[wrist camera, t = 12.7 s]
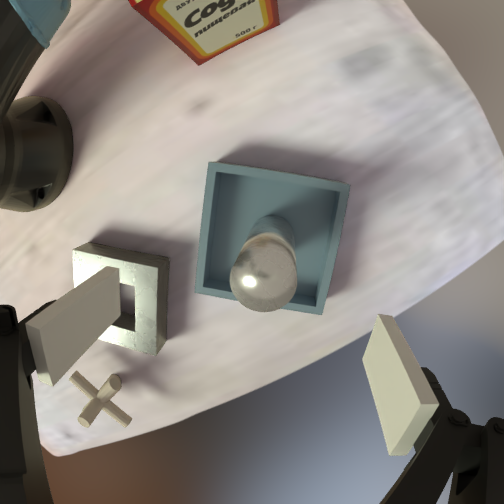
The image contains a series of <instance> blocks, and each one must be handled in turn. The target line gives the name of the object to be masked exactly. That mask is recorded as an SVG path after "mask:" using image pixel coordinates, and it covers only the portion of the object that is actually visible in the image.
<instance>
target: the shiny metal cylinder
mask: <svg viewBox="0 0 504 504" xmlns="http://www.w3.org/2000/svg"><path fill="white" fill-rule="evenodd" d="M230 286H231V290H232V292H233V294H234V296H235V297H236V299H237V300H238V301H239V302H240V303H241V304H242V305H244V306H245V307H247V308H249V309H251V310H254V311H258V312H270V311H275V310H277V309H280V308H282V307H283V306H285V305H286V304H287V303H288V302H289V301H290V300H291V299H292V297H293V296H294V294H295V291H296V288H297V268H296V254H295V240H294V232H293V229H292V227H291V225H290V224H289V223H288V222H287V221H286V220H285V219H284V218H282V217H279V216H275V215H269V216H265V217H262V218H260V219H259V220H258V221H256V223H255V224H254V225H253V227H252V229H251V231H250V233H249V235H248V237H247V239H246V241H245V243H244V245H243V247H242V249H241V251H240V253H239V255H238V257H237V259H236V261H235V263H234V265H233V267H232V269H231V273H230Z"/></svg>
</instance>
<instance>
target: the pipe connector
mask: <svg viewBox="0 0 504 504" xmlns="http://www.w3.org/2000/svg"><path fill="white" fill-rule="evenodd" d="M69 380H70V381H71V382H72V383H73V384H74V385H75V386H76V387H77V388H78V389H79V390H80V391H82V392H83V393H84V394H85V395H86V396H87V397H88V398H89V399H91V400H90V401H89V402H88V403H87V405H86V406H85V407H84V408H83V410H82V413H81V414H80V416H79V417H78V422H79V423H80V424H81V425H82V426H84V427H89V426H90V425H91V424H92V422H93V421H94V419H95V418H96V416H97V415H98V414H99V412H100V411H101V409H102V410H103V411H105V412H106V413H107V414H108V415H110V416H111V417H112V418H113V419H115V420H116V421H117V422H118V423H120V424H121V425H122V426H123V427H127V426H128V425H129V423H130V422H131V420H132V418H131V417H130V416H129V415H127V414H126V413H125V412H124V411H122V410H121V409H120V408H119V407H117V406H116V405H115V404H114V403H113V402H111V401H110V399H111V398H112V397H113V396H114V395H115V394H116V393H117V392H118V391H119V390H120V389H121V387H122V385H121V380H120V378H119V377H118V376H117V375H115V374H112V375H111V376H110V377H109V378H108V379H107V381H106V382H105V383H104V385H103V386H102V387H101V388H100V390H97V389H96V388H95V387H94V386H93V385H92V384H91V383H90V382H88V381H87V380H86V379H85V378H84V377H83V376H82V375H81V374H80V373H79V372H78V371H75V372H74V374H73V375H72V376H71V377H70V378H69Z"/></svg>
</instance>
